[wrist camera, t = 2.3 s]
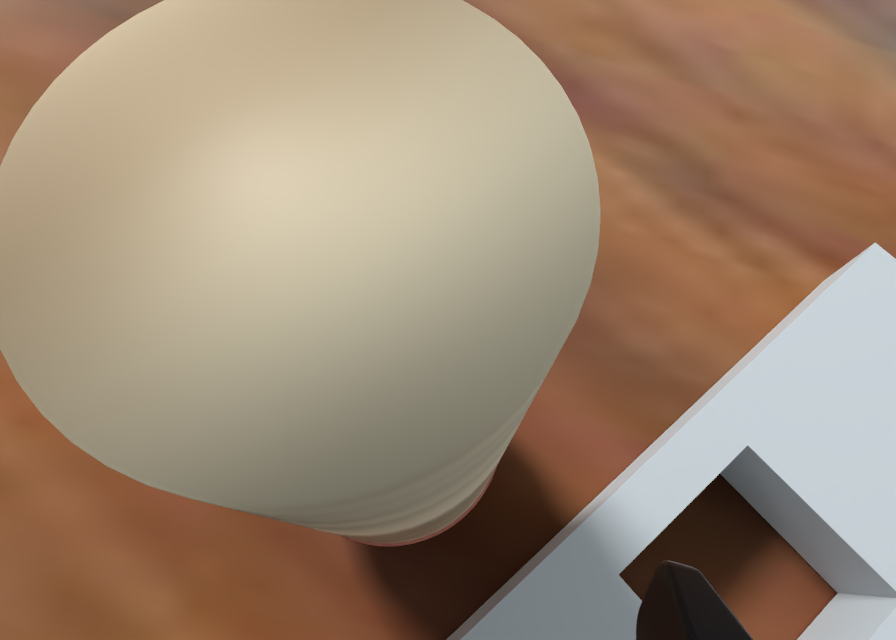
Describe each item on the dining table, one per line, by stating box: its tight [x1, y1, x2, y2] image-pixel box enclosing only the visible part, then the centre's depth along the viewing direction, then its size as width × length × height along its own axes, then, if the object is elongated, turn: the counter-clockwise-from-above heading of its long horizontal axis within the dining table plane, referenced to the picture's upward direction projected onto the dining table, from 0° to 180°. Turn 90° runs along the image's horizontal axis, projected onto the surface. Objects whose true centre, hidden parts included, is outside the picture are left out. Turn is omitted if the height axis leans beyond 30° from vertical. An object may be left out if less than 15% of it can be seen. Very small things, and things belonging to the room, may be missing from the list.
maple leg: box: [0, 0, 601, 546], centre depth 12 cm, size 5×5×13 cm
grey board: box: [446, 243, 896, 640], centre depth 15 cm, size 12×16×2 cm
